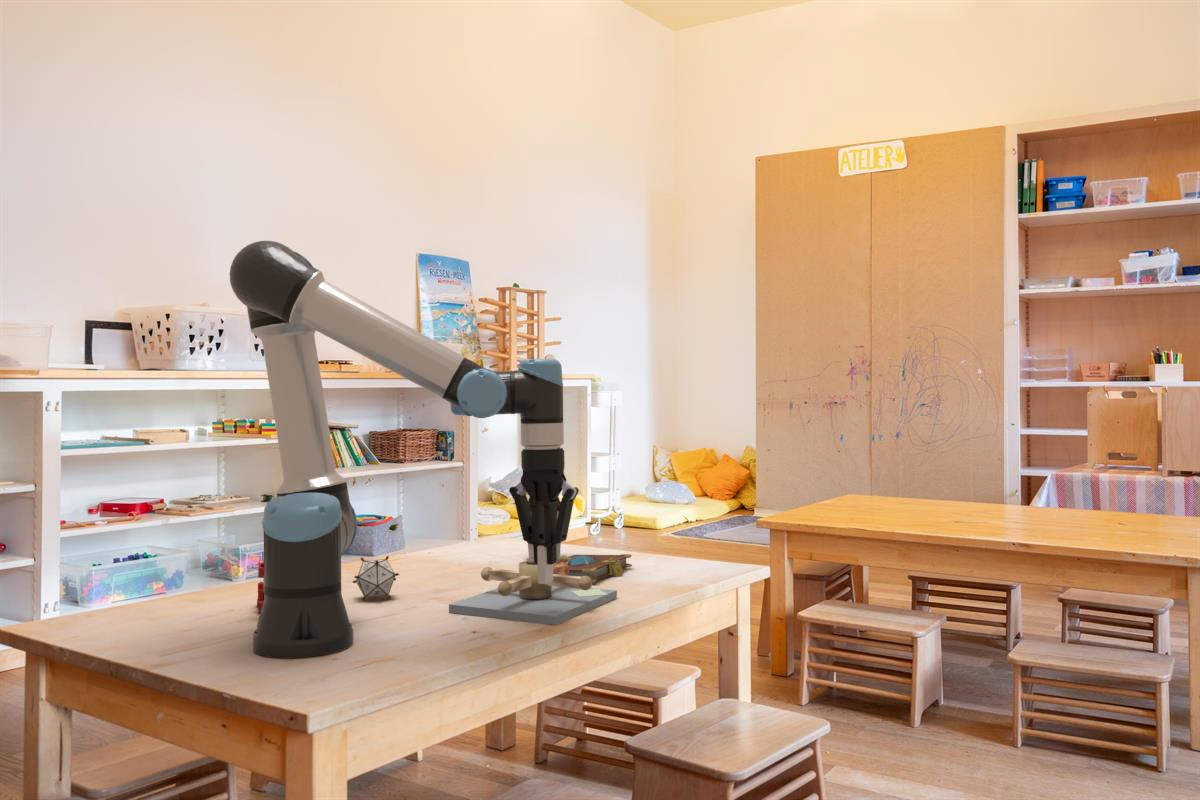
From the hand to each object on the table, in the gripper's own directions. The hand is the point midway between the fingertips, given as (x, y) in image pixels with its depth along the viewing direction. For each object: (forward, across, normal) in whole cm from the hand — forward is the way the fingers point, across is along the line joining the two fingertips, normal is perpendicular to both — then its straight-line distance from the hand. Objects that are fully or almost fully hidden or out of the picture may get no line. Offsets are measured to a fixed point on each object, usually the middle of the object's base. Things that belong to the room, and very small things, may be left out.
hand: (545, 582), depth 173 cm
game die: (+6, +38, -1) cm, 39 cm away
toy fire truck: (+6, +49, +16) cm, 52 cm away
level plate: (+6, +7, -9) cm, 13 cm away
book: (+7, +13, -38) cm, 41 cm away
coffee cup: (+7, +30, -52) cm, 60 cm away
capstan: (+5, +7, -9) cm, 12 cm away
